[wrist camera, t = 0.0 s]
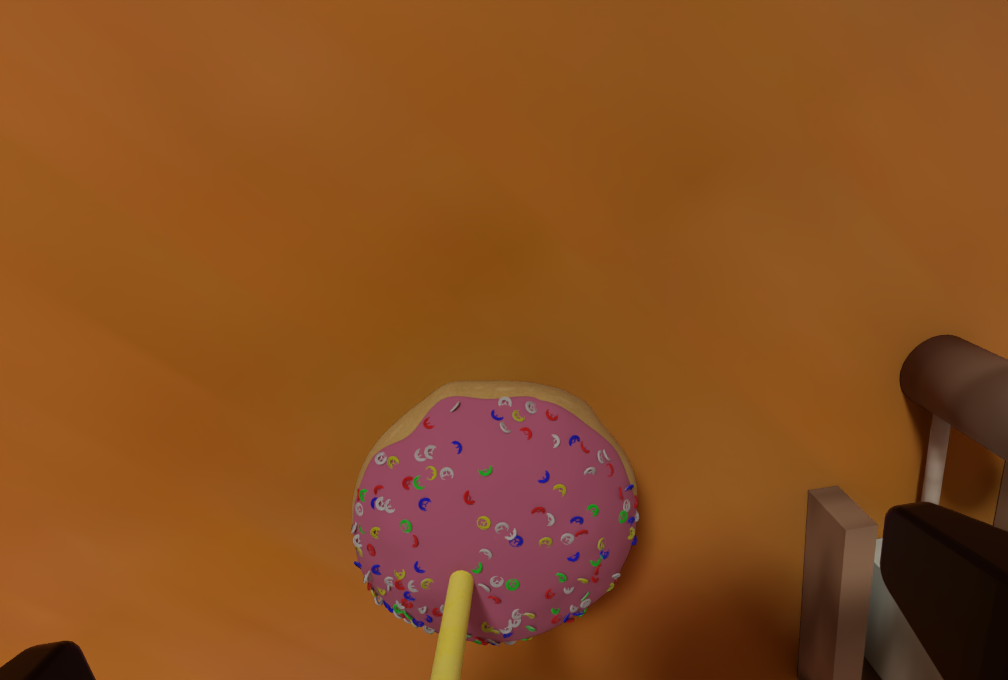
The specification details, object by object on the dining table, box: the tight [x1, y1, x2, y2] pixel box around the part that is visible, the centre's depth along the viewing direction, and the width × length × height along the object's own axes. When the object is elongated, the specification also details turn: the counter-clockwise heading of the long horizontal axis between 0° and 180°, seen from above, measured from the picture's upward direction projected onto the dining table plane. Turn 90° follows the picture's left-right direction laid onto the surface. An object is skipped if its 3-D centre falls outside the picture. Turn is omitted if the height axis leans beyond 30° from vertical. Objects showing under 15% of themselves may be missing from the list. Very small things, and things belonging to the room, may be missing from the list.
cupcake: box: [351, 381, 639, 680], centre depth 17 cm, size 9×8×12 cm
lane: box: [797, 461, 1008, 680], centre depth 26 cm, size 10×9×2 cm
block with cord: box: [864, 335, 1008, 680], centre depth 23 cm, size 14×5×6 cm, turn 7°
